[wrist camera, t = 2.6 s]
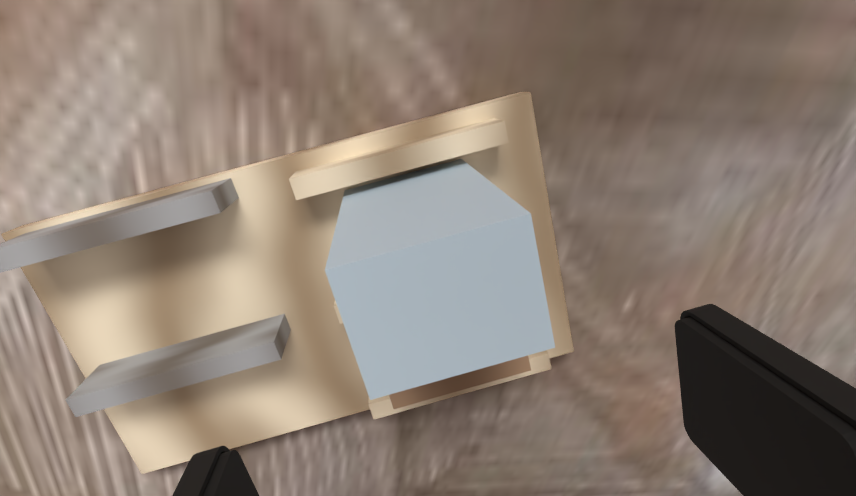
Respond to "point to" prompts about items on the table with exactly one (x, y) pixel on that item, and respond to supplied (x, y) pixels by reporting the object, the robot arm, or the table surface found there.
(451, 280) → the light blue block
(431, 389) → the offcut
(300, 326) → the rack
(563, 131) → the table surface
